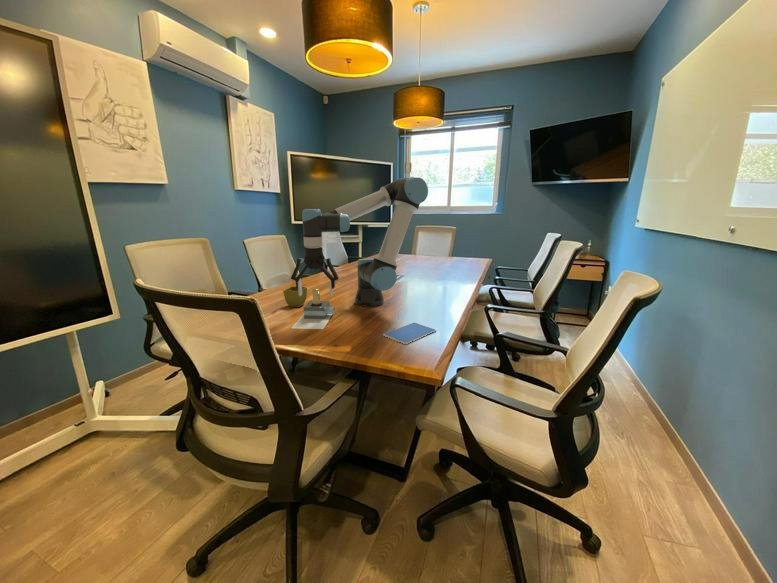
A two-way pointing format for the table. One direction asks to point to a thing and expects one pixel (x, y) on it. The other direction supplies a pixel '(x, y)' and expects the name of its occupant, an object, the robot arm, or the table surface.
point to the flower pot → (295, 296)
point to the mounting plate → (311, 323)
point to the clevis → (317, 310)
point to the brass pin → (316, 297)
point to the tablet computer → (409, 333)
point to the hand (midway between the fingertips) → (315, 295)
